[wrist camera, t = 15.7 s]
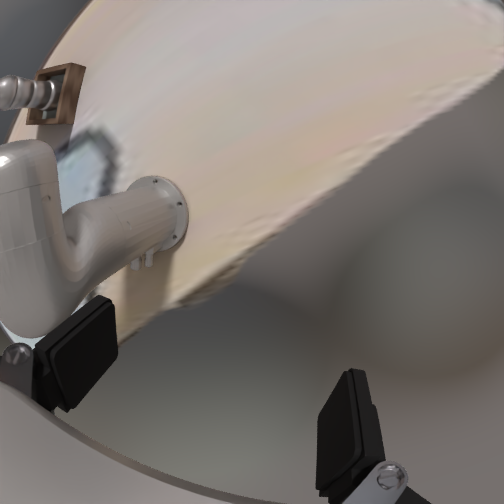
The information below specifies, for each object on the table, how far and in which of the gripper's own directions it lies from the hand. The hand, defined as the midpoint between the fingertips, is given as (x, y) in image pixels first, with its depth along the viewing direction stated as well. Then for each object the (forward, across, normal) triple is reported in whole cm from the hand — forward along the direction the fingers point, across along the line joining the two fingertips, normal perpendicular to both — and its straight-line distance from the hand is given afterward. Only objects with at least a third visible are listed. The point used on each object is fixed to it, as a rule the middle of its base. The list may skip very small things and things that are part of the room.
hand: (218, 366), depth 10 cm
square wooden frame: (+33, +48, -15) cm, 60 cm away
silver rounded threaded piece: (+33, +48, -15) cm, 60 cm away
